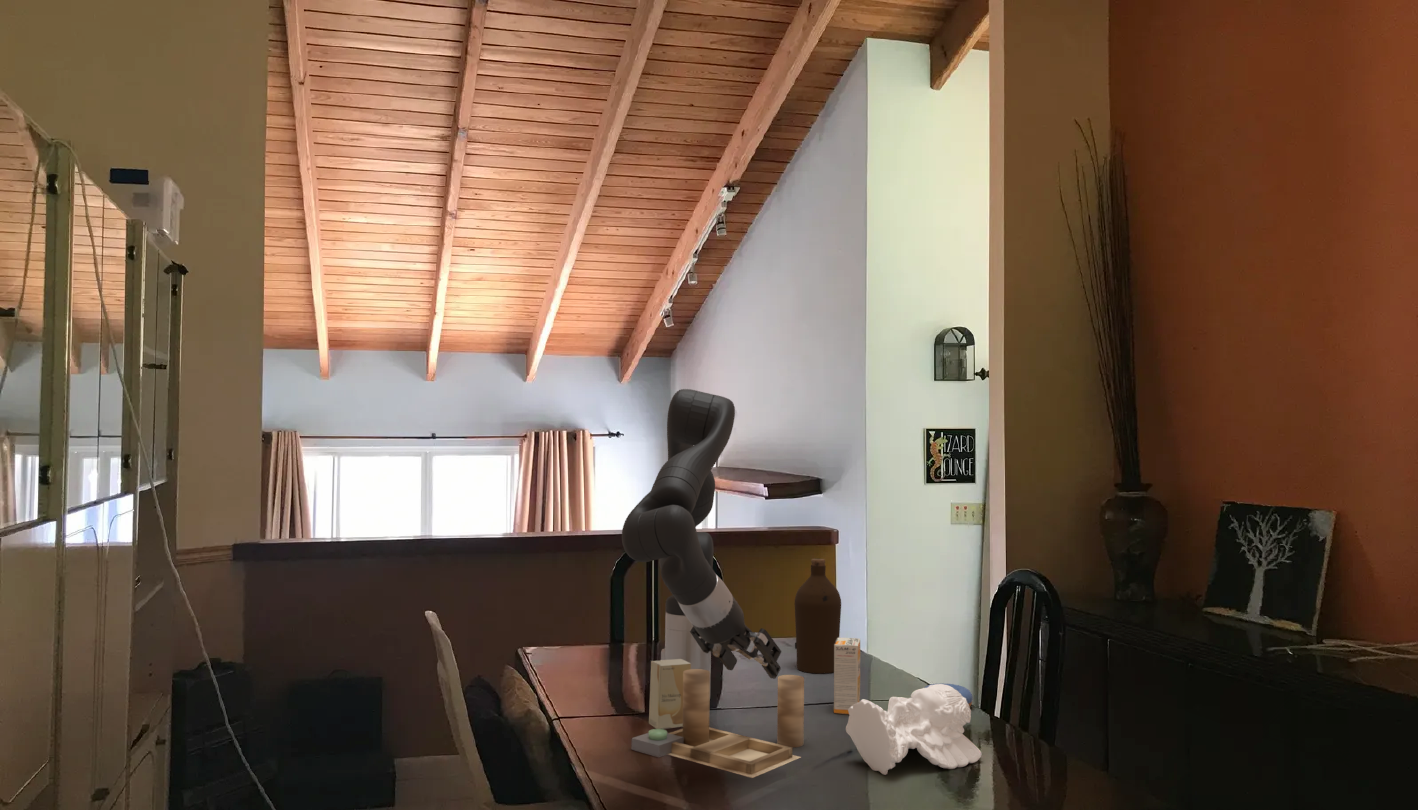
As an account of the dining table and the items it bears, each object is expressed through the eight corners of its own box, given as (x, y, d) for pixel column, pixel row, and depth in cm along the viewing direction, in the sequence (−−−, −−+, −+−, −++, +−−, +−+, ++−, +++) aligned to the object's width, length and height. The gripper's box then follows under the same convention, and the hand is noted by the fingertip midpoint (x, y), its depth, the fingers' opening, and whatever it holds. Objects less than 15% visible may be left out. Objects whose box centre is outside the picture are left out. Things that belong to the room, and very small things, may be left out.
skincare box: (657, 736, 171) (659, 665, 171) (647, 730, 175) (648, 660, 175) (691, 732, 174) (691, 662, 174) (680, 725, 178) (681, 657, 178)
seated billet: (676, 745, 162) (677, 672, 162) (694, 739, 165) (695, 667, 166) (697, 751, 159) (698, 676, 159) (714, 745, 162) (715, 671, 163)
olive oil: (850, 669, 224) (851, 559, 225) (820, 676, 217) (820, 563, 218) (814, 662, 232) (815, 555, 233) (784, 668, 225) (785, 558, 226)
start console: (631, 756, 160) (631, 731, 160) (656, 748, 164) (656, 724, 164) (658, 764, 156) (659, 739, 156) (683, 755, 160) (683, 731, 161)
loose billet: (771, 750, 164) (772, 678, 164) (786, 744, 167) (787, 673, 168) (793, 756, 161) (794, 682, 161) (808, 750, 164) (809, 677, 165)
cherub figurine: (836, 693, 161) (929, 668, 171) (843, 769, 161) (936, 739, 171) (887, 710, 150) (984, 682, 159) (895, 792, 149) (991, 759, 159)
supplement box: (858, 715, 186) (859, 645, 187) (833, 713, 187) (833, 644, 188) (860, 704, 194) (861, 637, 195) (836, 702, 195) (836, 636, 196)
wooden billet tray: (644, 755, 160) (644, 738, 161) (695, 737, 170) (695, 721, 171) (752, 785, 147) (752, 767, 147) (801, 764, 157) (801, 747, 157)
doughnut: (971, 714, 187) (970, 689, 188) (918, 712, 190) (917, 687, 191) (975, 707, 196) (973, 683, 197) (924, 704, 199) (923, 681, 200)
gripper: (758, 591, 146) (800, 656, 154) (685, 581, 155) (729, 644, 163) (736, 632, 142) (781, 697, 150) (662, 620, 151) (708, 682, 159)
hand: (754, 669), depth 157 cm, fingers open, 8 cm apart
